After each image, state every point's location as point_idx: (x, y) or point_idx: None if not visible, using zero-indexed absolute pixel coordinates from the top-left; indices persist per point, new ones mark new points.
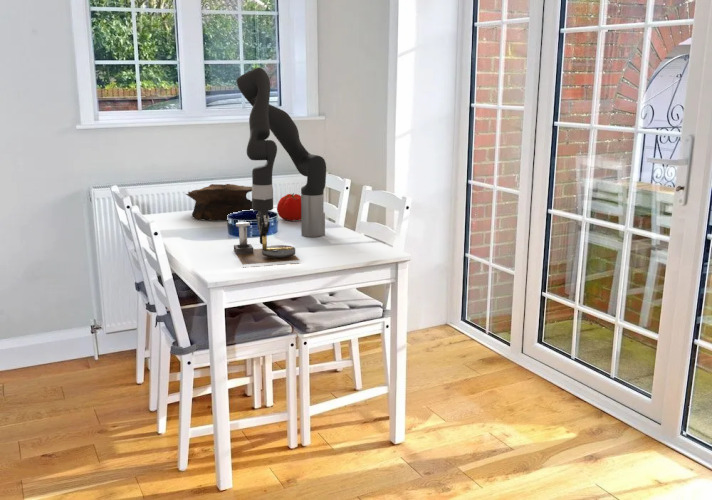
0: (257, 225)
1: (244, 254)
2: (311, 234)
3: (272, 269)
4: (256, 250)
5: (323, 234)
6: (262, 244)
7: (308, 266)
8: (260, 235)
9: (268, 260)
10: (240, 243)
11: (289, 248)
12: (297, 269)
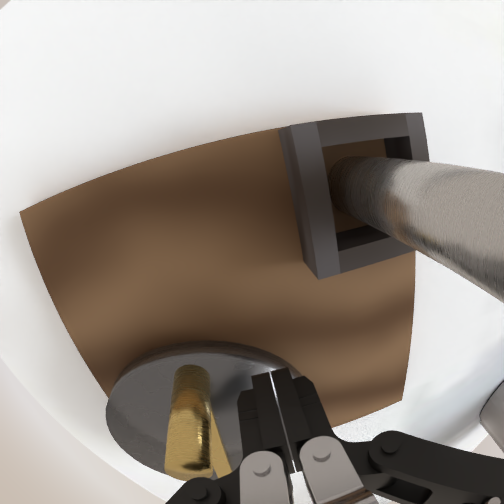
0: (371, 499)
1: (283, 193)
2: (490, 407)
3: (40, 358)
4: (381, 273)
5: (482, 422)
6: (179, 398)
7: (123, 460)
8: (261, 439)
9: (121, 360)
10: (373, 167)
11: (216, 472)
12: (74, 432)
